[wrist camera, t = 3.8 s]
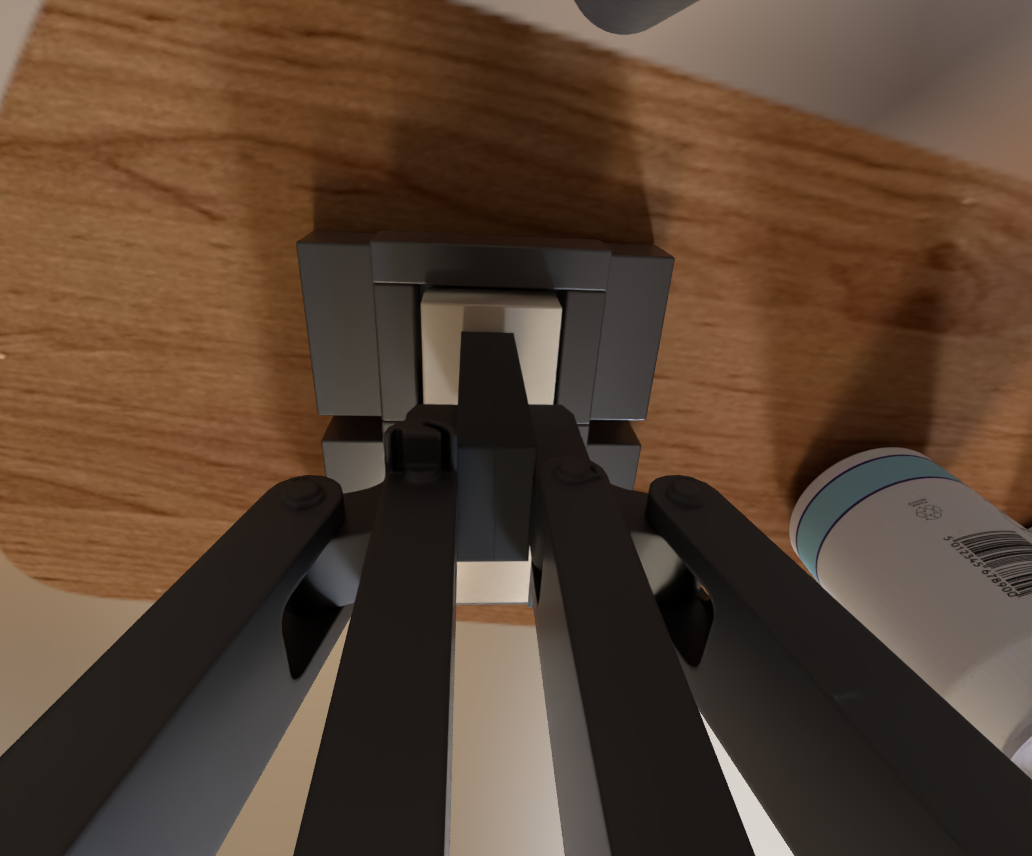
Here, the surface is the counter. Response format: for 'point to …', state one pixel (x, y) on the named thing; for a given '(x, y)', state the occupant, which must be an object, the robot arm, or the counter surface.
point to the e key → (493, 581)
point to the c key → (489, 312)
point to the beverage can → (930, 581)
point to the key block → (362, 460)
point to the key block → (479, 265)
